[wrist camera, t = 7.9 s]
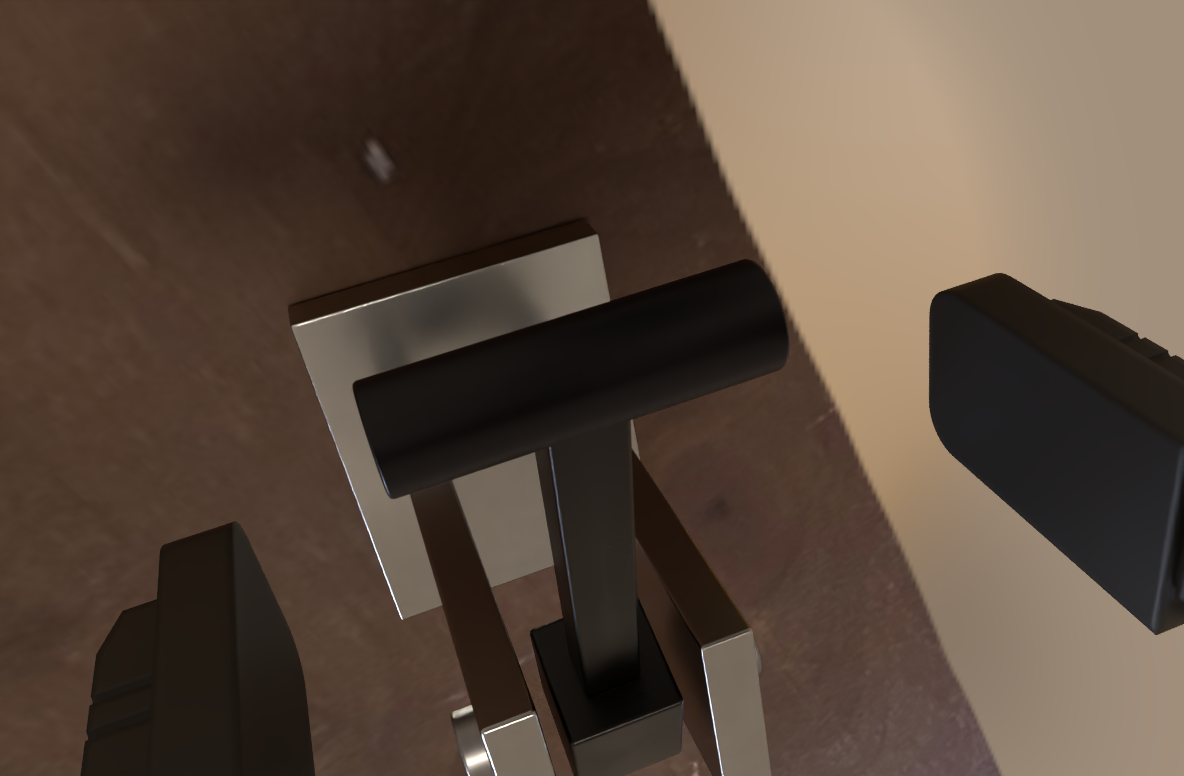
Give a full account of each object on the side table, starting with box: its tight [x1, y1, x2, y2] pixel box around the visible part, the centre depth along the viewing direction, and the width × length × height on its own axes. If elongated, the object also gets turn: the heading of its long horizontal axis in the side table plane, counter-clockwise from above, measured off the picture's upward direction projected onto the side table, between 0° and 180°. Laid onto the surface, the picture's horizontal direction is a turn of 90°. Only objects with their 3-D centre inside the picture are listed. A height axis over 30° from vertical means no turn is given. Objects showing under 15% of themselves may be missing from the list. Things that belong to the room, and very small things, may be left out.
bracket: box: [288, 220, 771, 776], centre depth 24 cm, size 10×8×13 cm
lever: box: [352, 259, 789, 776], centre depth 17 cm, size 12×5×2 cm, turn 11°
